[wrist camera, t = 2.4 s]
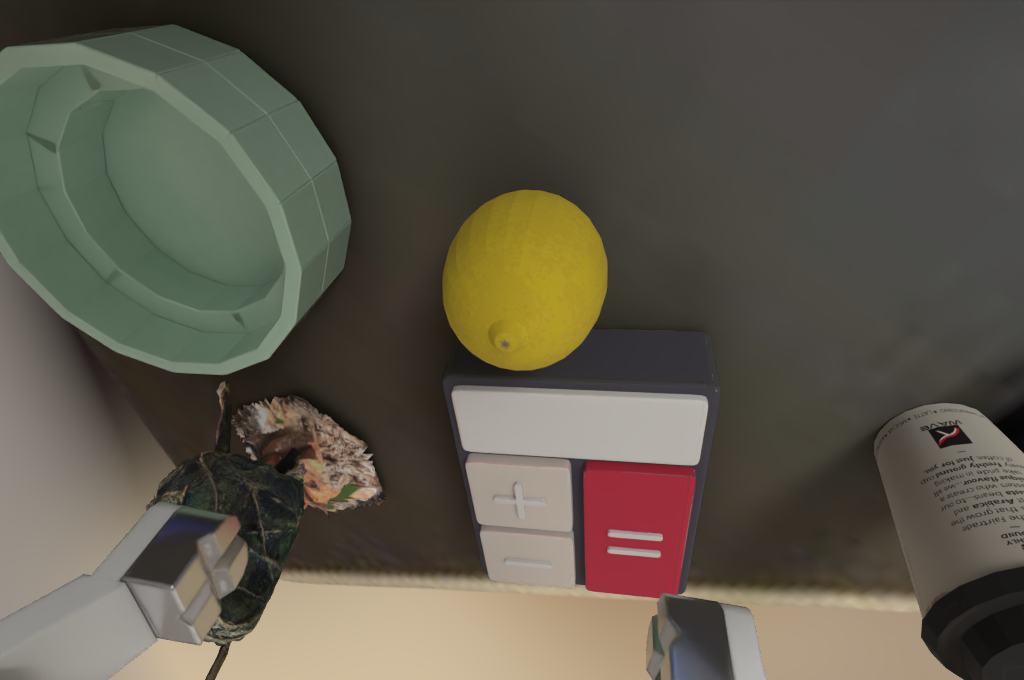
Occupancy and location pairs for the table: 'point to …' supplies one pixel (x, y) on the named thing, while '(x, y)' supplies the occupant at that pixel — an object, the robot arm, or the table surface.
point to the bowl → (166, 195)
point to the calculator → (588, 460)
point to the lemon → (524, 280)
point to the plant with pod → (270, 493)
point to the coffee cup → (960, 534)
